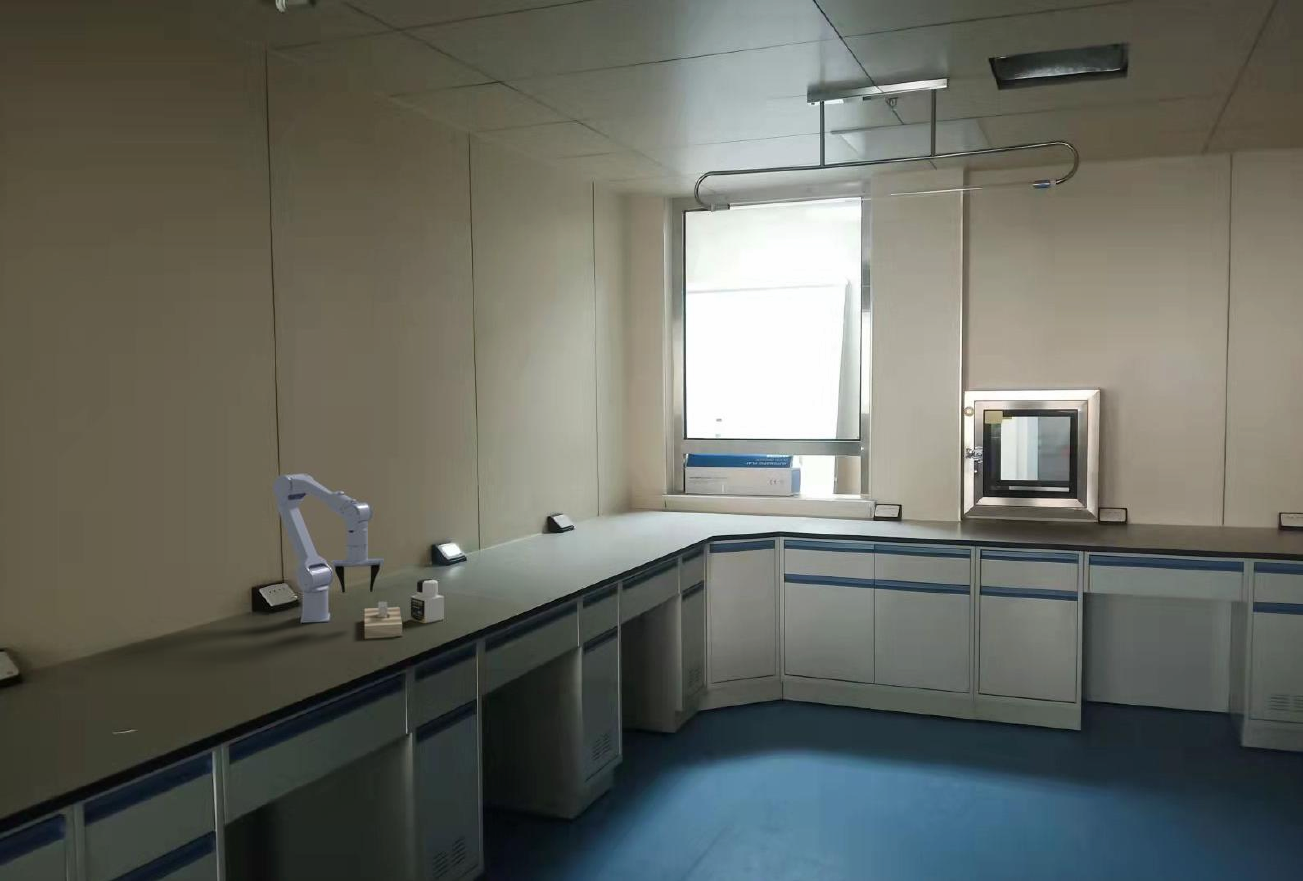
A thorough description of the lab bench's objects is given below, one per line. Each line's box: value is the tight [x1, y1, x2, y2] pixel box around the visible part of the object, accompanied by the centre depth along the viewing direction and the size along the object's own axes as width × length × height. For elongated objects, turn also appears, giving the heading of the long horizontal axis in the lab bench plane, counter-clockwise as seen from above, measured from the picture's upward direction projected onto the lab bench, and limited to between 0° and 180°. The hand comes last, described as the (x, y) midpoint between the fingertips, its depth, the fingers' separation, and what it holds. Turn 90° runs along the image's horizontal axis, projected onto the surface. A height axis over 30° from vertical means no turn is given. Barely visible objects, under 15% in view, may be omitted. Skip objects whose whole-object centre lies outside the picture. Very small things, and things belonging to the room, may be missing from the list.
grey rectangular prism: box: [377, 601, 388, 618], centre depth 288 cm, size 7×2×7 cm, turn 16°
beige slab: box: [364, 606, 403, 639], centre depth 288 cm, size 22×10×4 cm, turn 16°
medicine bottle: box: [410, 578, 445, 624], centre depth 299 cm, size 7×7×12 cm
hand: (357, 591), depth 291 cm, fingers open, 7 cm apart
